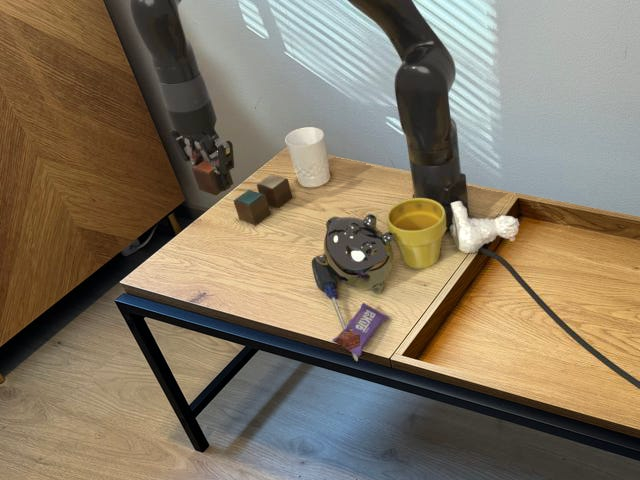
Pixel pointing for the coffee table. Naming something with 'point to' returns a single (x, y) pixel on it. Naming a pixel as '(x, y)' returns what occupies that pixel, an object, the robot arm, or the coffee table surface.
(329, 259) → the piggy bank
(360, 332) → the snack package
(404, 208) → the flower pot
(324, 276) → the screwdriver
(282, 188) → the brown block
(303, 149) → the white cup
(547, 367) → the coffee table surface
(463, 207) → the sitting furry creature
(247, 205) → the teal topped brown block
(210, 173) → the red-topped brown block
